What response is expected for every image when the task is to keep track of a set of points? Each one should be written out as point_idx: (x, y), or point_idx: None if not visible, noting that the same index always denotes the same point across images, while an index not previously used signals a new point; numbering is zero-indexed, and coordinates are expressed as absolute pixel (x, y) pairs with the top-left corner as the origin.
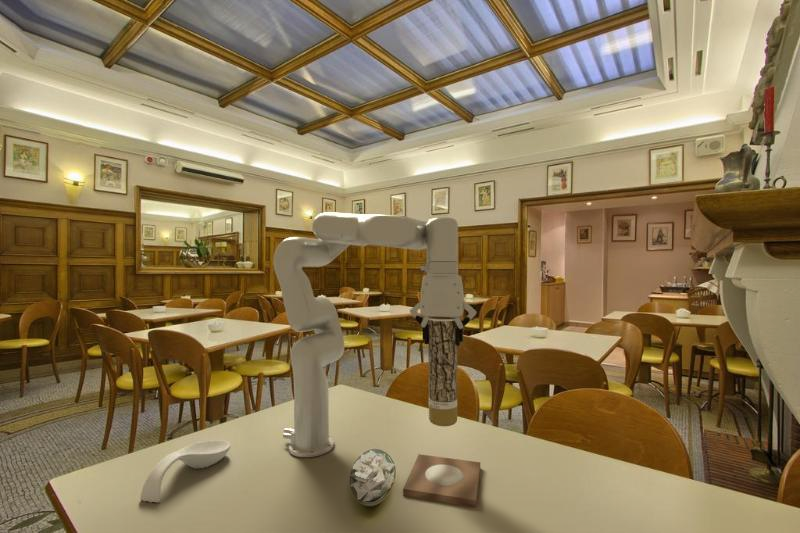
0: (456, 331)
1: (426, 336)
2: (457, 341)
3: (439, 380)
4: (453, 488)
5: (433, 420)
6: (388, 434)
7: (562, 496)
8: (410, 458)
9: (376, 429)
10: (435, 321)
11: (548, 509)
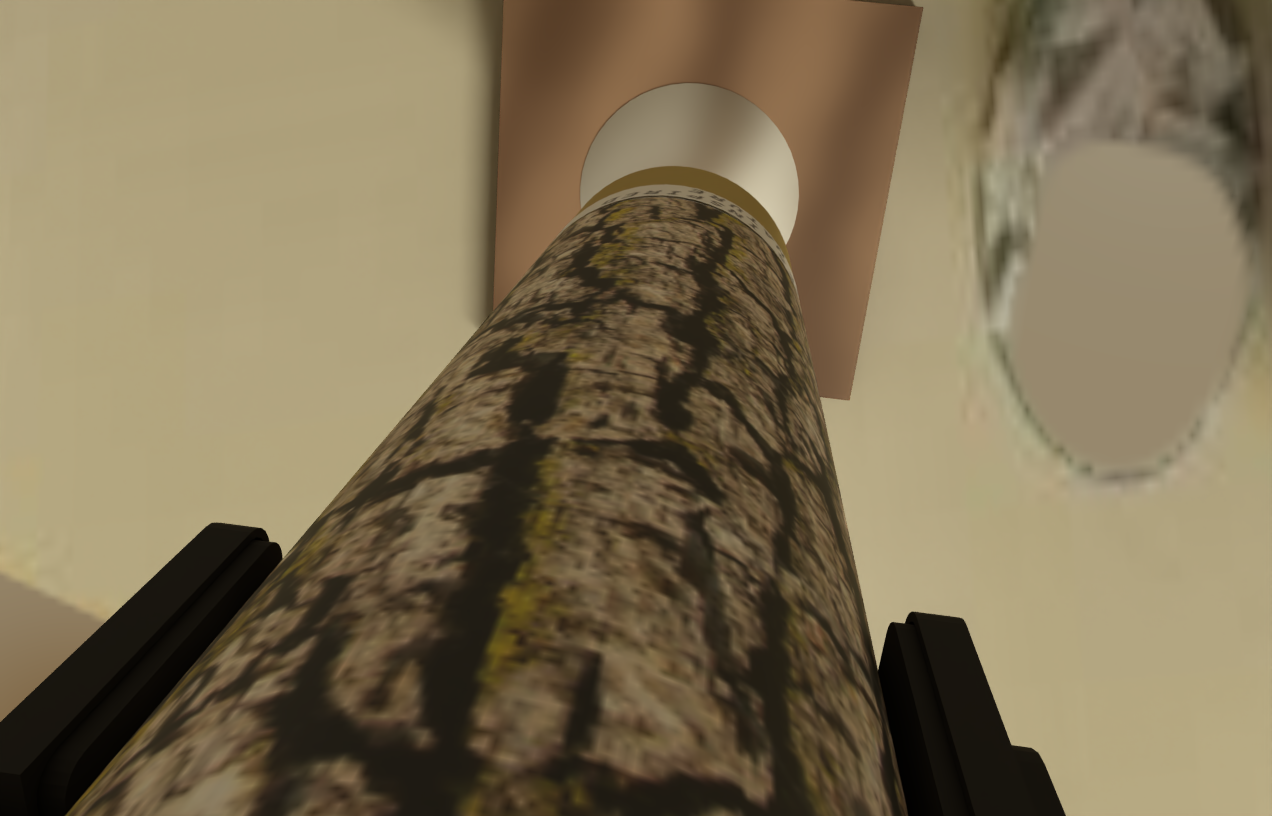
0: (80, 727)
1: (954, 719)
2: (200, 560)
3: (669, 244)
4: (629, 62)
5: (748, 196)
6: (1051, 651)
7: (103, 150)
8: (896, 399)
9: (1134, 704)
10: None
11: (167, 24)
